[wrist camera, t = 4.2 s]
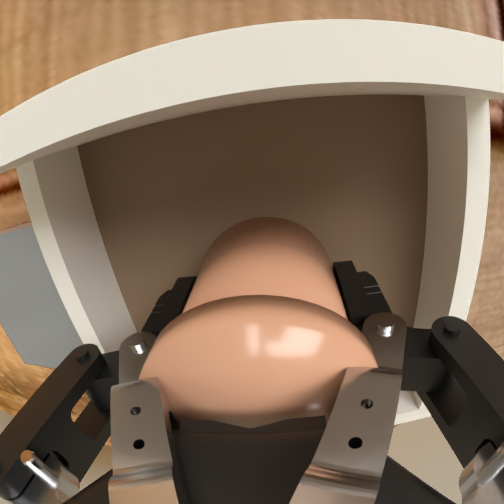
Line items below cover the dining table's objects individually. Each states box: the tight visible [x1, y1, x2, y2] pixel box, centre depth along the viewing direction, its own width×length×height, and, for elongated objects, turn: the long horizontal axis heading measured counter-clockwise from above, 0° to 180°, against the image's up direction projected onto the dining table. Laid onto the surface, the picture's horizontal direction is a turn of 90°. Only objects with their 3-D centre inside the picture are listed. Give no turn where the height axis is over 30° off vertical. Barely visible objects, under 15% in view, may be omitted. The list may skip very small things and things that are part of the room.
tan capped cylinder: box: [139, 217, 378, 428], centre depth 10 cm, size 6×6×7 cm
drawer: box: [0, 19, 504, 425], centre depth 11 cm, size 16×16×8 cm
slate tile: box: [0, 222, 83, 368], centre depth 16 cm, size 10×10×1 cm
